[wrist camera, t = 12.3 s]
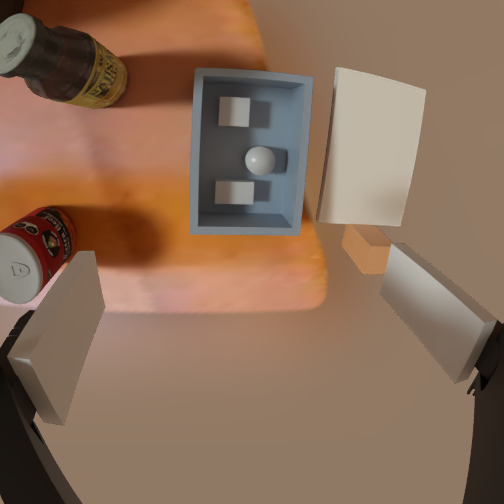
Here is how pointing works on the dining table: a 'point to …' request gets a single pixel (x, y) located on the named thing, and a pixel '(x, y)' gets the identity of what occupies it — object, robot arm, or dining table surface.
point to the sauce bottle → (60, 63)
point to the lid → (369, 161)
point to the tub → (248, 151)
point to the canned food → (34, 252)
